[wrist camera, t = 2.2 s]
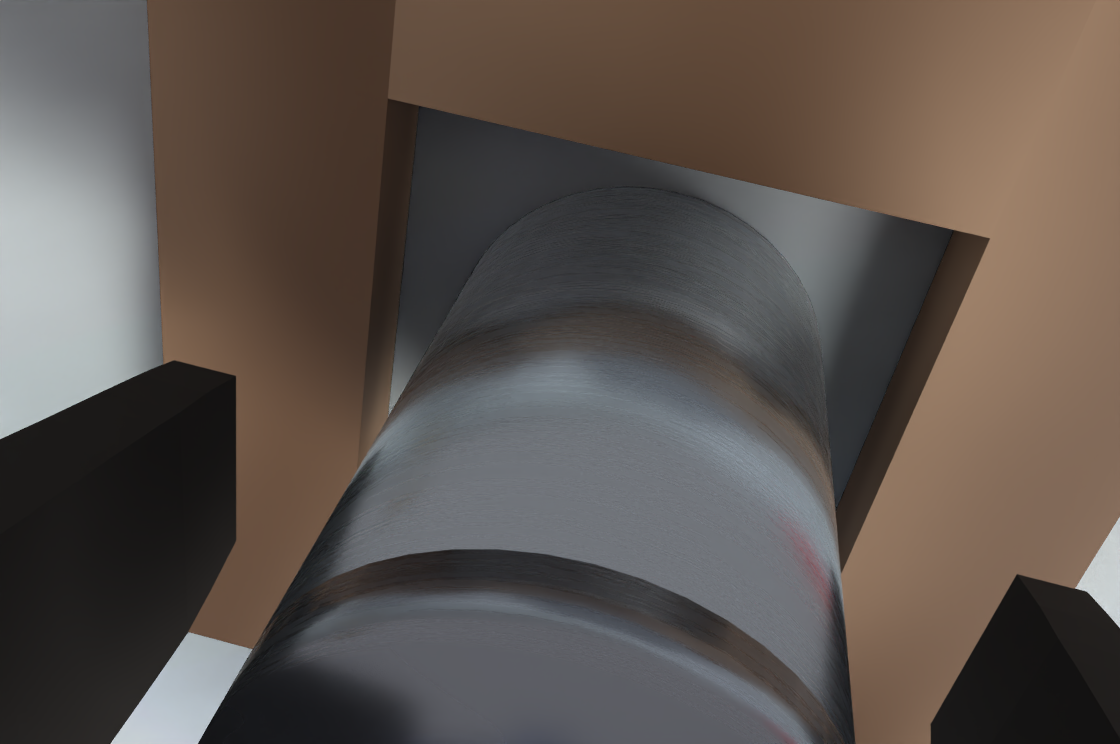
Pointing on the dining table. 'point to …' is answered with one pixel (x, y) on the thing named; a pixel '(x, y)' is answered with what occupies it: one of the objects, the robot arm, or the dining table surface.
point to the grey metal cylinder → (582, 510)
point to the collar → (705, 145)
